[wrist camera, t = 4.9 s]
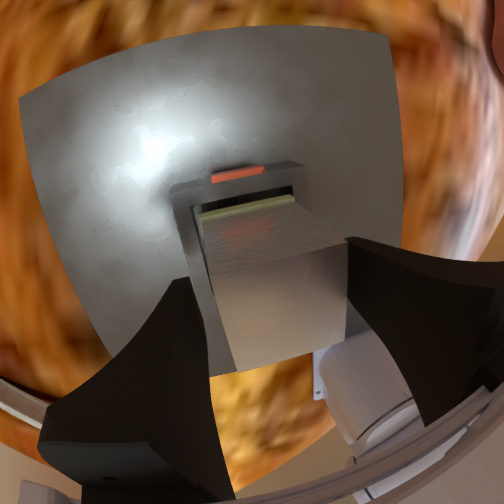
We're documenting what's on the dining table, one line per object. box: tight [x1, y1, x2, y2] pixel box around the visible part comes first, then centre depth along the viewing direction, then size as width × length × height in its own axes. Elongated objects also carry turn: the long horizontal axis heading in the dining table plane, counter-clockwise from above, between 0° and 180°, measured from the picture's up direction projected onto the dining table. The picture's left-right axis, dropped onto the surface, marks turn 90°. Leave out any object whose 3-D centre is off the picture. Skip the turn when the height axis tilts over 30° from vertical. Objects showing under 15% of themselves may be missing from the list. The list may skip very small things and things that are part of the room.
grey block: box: [198, 194, 348, 373], centre depth 11 cm, size 4×4×5 cm
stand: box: [19, 25, 403, 377], centre depth 15 cm, size 22×22×4 cm
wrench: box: [0, 378, 50, 429], centre depth 19 cm, size 8×2×30 cm
